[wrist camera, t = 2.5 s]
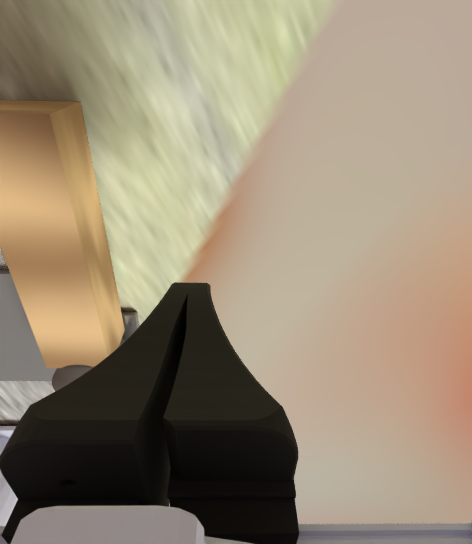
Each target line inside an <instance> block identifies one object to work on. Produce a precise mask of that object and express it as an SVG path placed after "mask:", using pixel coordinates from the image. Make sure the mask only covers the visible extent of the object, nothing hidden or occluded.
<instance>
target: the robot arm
mask: <svg viewBox="0 0 472 544" xmlns="http://www.w3.org/2000/svg"><path fill="white" fill-rule="evenodd" d="M297 461H298V447H297V443H296V439H295V436H294V433H293V430H292V427H291V425H290V423H289V420H288V418H287V416H286V414H285V411H284V409H283V407H282V406H281V405H280V404H279V403H278V402H277V401H276V400H275V399H274V398H273V397H272V396H271V395H270V394H268V392H267V391H266V390H265V389H264V388H263V387H262V386H261V385H260V384H259V382H258V381H257V380H256V379H255V378H254V376H253V375H252V374H251V373H250V372H249V370H248V369H247V368H246V366H245V365H244V364H243V362H242V361H241V359H240V358H239V356H238V355H237V353H236V352H235V350H234V349H233V347H232V345H231V344H230V342H229V340H228V338H227V336H226V334H225V332H224V330H223V328H222V326H221V324H220V322H219V319H218V316H217V314H216V311H215V309H214V305H213V302H212V298H211V293H210V285H209V284H208V283H173V284H172V285H171V286H170V288H169V290H168V291H167V293H166V294H165V295H164V297H163V298H162V300H161V301H160V302H159V304H158V305H157V306H156V307H155V309H154V310H153V311H152V312H151V314H150V315H149V316H148V317H147V319H146V320H145V321H144V322H143V323H142V324H141V325H140V326H139V327H138V328H137V330H136V331H135V332H134V333H133V334H132V335H131V336H130V337H129V338H128V339H127V340H126V341H125V342H124V343H123V344H122V345H120V346H119V347H118V348H117V349H116V350H115V351H114V352H112V353H111V354H110V355H109V356H108V357H106V358H105V359H104V360H103V361H101V362H100V363H99V364H97V365H96V366H95V367H93V368H92V369H91V370H89V371H88V372H86V373H85V374H83V375H82V376H80V377H79V378H77V379H76V380H74V381H72V382H71V383H69V384H68V385H66V386H64V387H63V388H61V389H59V390H57V391H56V392H54V393H52V394H50V395H48V396H47V397H45V398H43V399H41V400H39V401H38V402H36V403H34V404H32V405H30V406H29V408H28V410H27V411H26V412H25V414H24V415H23V417H22V418H21V419H20V421H19V423H18V424H17V426H0V544H472V522H471V523H397V524H394V523H393V524H392V523H391V524H390V523H384V524H298V520H297V513H296V506H295V497H296V491H295V485H294V474H295V470H296V465H297ZM169 503H170V507H169Z"/></svg>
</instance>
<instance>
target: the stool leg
mask: <svg viewBox="0 0 472 544" xmlns="http://www.w3.org/2000/svg"><path fill="white" fill-rule="evenodd" d="M0 248H1V250H2V253H3V255H4V258H5V261H6V263H7V266H8V269H9V271H10V274H11V276H12V279H13V282H14V284H15V287H16V289H17V292H18V295H19V297H20V300H21V302H22V305H23V308H24V310H25V313H26V315H27V318H28V321H29V323H30V326H31V328H32V331H33V334H34V336H35V339H36V342H37V344H38V347H39V349H40V352H41V355H42V357H43V360H44V362H45V365H46V368H57V369H56V371H55V373H54V375H53V377H52V385H53V388H54V390H55V391H57V390H59V389H61V388H63V387H64V386H66V385H68V384H69V383H71V382H72V381H74V380H76V379H77V378H79V377H80V376H82V375H83V374H85V373H86V372H88V371H89V370H91V369H92V368H93V367H95V366H96V365H97V364H99V363H100V362H101V361H103V360H104V359H105V358H106V357H108V356H109V355H110V354H111V353H112V352H114V351H115V350H116V349H117V348H118V347H119V346H120V345H122V344H123V343H124V342H125V341H126V340H125V339H124V338H123V337H122V336H123V334H124V331H125V329H124V324H123V319H122V313H121V308H120V303H119V298H118V293H117V288H116V282H115V277H114V272H113V267H112V262H111V257H110V251H109V246H108V241H107V236H106V231H105V226H104V220H103V215H102V210H101V205H100V200H99V195H98V190H97V184H96V179H95V174H94V169H93V164H92V159H91V153H90V148H89V143H88V138H87V133H86V128H85V122H84V117H83V112H82V107H81V102H69V101H30V100H0Z"/></svg>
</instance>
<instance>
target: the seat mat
mask: <svg viewBox="0 0 472 544" xmlns="http://www.w3.org/2000/svg"><path fill="white" fill-rule="evenodd" d="M56 369H57V368H46V365H45V362H44V360H43V357H42V355H41V352H40V349H39V347H38V344H37V342H36V339H35V336H34V334H33V331H32V328H31V326H30V323H29V321H28V318H27V315H26V313H25V310H24V308H23V305H22V302H21V300H20V297H19V295H18V292H17V289H16V287H15V284H14V282H13V279H12V276H11V274H10V271H9V270H0V381H52V377H53V375H54V373H55V371H56Z"/></svg>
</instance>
